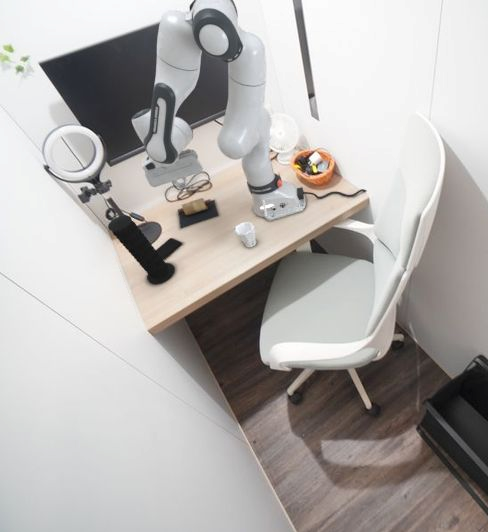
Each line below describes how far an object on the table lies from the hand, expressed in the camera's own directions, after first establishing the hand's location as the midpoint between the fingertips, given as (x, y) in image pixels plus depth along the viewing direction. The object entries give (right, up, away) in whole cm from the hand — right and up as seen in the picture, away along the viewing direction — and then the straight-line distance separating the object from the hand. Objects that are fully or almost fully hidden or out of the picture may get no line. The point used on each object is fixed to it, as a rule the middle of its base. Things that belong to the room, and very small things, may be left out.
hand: (184, 187), depth 127 cm
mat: (+1, -9, +12) cm, 15 cm away
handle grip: (-4, -34, -9) cm, 36 cm away
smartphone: (-7, -27, -3) cm, 28 cm away
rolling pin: (0, -8, +13) cm, 15 cm away
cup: (+26, -22, -3) cm, 35 cm away
